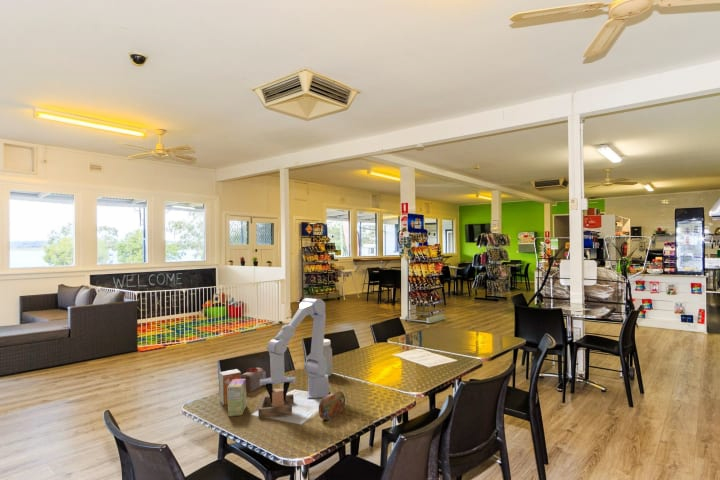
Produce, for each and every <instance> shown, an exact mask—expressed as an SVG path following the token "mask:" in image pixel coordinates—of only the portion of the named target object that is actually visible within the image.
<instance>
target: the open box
mask: <svg viewBox="0 0 720 480" xmlns="http://www.w3.org/2000/svg"><path fill="white" fill-rule="evenodd" d="M294 399H295V398H294V394H291V393H290V394H286V400H285V401H284V406H281V407H272V402H271V399H270V396H269V395H266V396H265V395H263V396H262V397H261V401H260V404H259V407H258V409H257V411H258V413H257V414H258V419H265V418H266V419H267V418H276V417H290V416H293V406H292V405H288V404H294V402H295V400H294ZM266 406H267V407H266ZM268 406H269V407H268ZM270 406H271V407H270Z"/></svg>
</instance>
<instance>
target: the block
mask: <svg viewBox="0 0 720 480" xmlns="http://www.w3.org/2000/svg"><path fill="white" fill-rule="evenodd" d="M281 406H285V404H284V389H283V387H282V388H273V391H272V405H271V407H281Z"/></svg>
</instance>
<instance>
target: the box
mask: <svg viewBox="0 0 720 480" xmlns="http://www.w3.org/2000/svg"><path fill="white" fill-rule="evenodd" d="M227 398H228V404H227V416H228V417H235V416H242V415H243V414H244V411H245V410H246V408H247V392H246V379H234V380H232V381H231V383H230V384H229V386H228V387H227Z"/></svg>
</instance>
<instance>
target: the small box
mask: <svg viewBox="0 0 720 480" xmlns="http://www.w3.org/2000/svg"><path fill="white" fill-rule="evenodd" d="M218 375H219V376H218V377H219V379H218V380H219V383H218V384H219V401H220V403H221V404H222V405H223V406H225V405H228V398H227V387H228V386H229V384H230V383H231V381H232V380H234V379H241V375H242V372H241V371H240V370H239V369H238V368H235V369H230V370H229V369H228V370H225V371H219V373H218Z"/></svg>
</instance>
